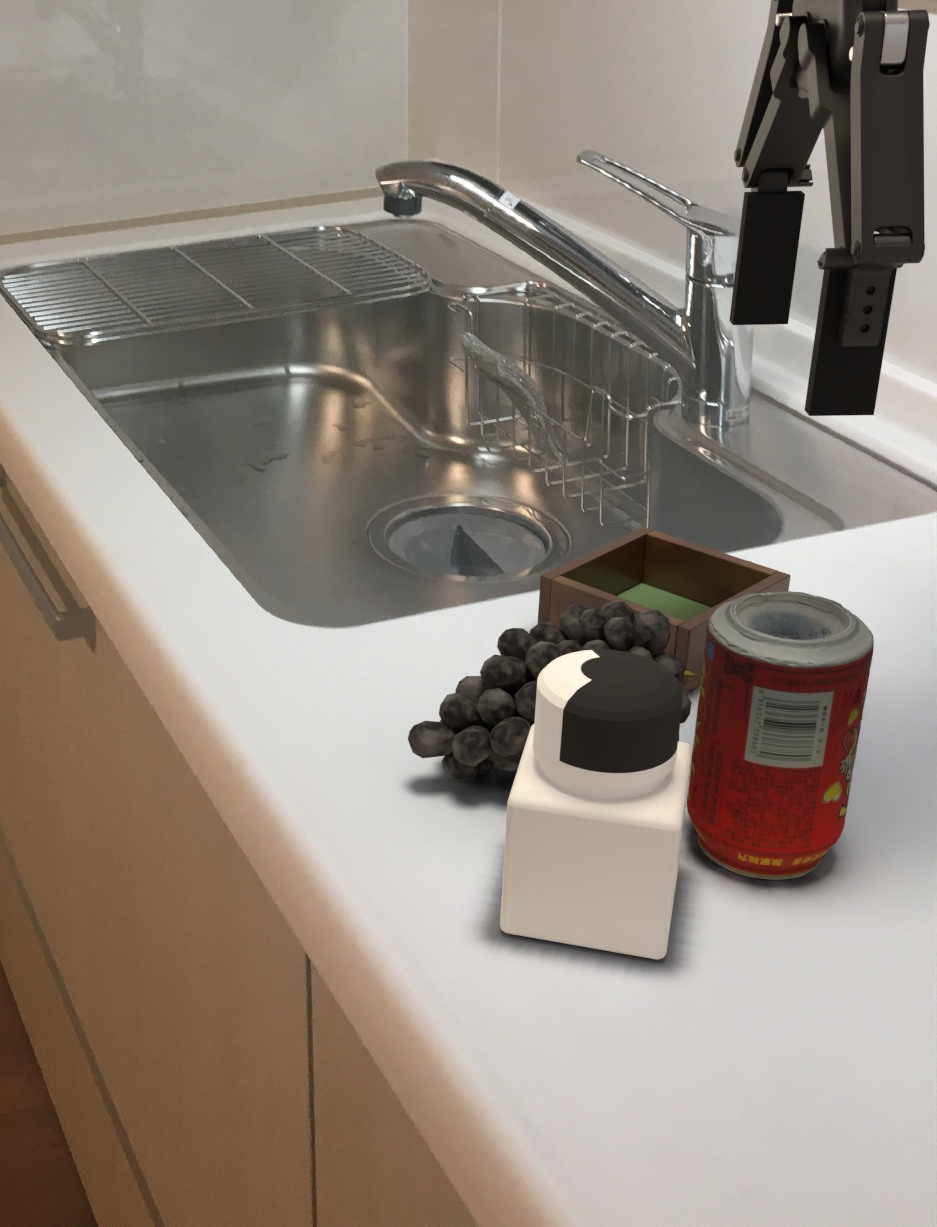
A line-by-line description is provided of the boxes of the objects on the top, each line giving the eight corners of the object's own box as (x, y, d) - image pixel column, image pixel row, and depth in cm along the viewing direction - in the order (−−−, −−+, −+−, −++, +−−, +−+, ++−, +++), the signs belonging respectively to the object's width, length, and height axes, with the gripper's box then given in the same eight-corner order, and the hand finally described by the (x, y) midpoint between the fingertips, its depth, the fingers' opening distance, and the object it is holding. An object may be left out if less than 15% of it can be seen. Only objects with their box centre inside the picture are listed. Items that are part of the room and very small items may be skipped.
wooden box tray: (782, 637, 99) (791, 574, 97) (682, 696, 93) (690, 630, 91) (637, 586, 106) (643, 526, 104) (536, 637, 100) (540, 575, 98)
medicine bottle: (677, 872, 78) (704, 643, 73) (664, 964, 72) (692, 722, 67) (523, 848, 80) (538, 624, 75) (498, 935, 74) (512, 698, 69)
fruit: (425, 647, 80) (713, 597, 82) (369, 627, 88) (633, 582, 90) (445, 823, 81) (729, 768, 84) (388, 786, 89) (648, 737, 92)
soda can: (863, 886, 76) (902, 646, 71) (706, 891, 77) (734, 652, 71) (810, 803, 83) (843, 577, 78) (666, 807, 83) (688, 583, 78)
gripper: (701, -139, 81) (660, 293, 90) (862, -110, 58) (785, 461, 68) (861, -145, 80) (803, 290, 89) (1086, -118, 58) (977, 458, 67)
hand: (795, 365), depth 79 cm, fingers open, 13 cm apart
